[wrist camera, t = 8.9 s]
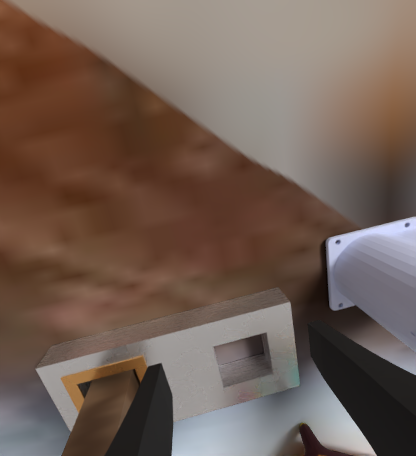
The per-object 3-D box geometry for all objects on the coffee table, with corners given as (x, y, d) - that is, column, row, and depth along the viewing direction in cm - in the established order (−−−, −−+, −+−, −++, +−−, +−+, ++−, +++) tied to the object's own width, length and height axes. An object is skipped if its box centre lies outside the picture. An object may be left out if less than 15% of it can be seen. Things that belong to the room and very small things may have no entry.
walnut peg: (135, 353, 22) (112, 452, 15) (146, 380, 23) (129, 486, 16) (99, 363, 22) (56, 468, 14) (111, 390, 23) (77, 501, 15)
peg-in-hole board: (278, 287, 22) (290, 302, 20) (288, 364, 25) (300, 386, 22) (52, 345, 21) (34, 369, 18) (90, 420, 24) (79, 450, 21)
